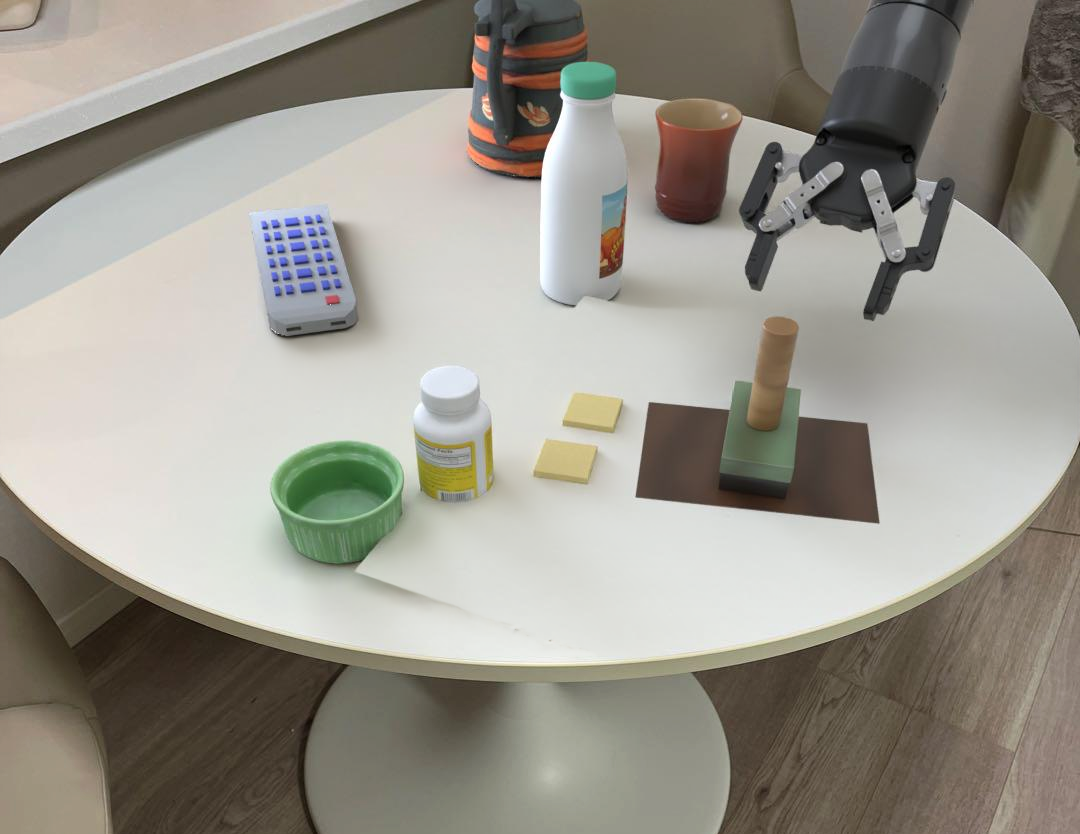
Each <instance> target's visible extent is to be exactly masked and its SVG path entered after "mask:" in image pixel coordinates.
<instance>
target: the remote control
mask: <svg viewBox="0 0 1080 834" xmlns="http://www.w3.org/2000/svg"><path fill="white" fill-rule="evenodd" d="M248 214H249V219H250V224H251V230H252V231H251V232H252V237H253V242H254V248H255V254H256V259H257V265H258V270H259V276H260V282H261V288H262V293H263V297H264V302H265V307H266V312H267V313H266V314H267V320H268V324H269V328H270V327H271V328H272V329H273V330H274V331H276V333H279V334H281V335H280V336H284V335H285V337H290V336H295V335H304V334H311V333H319V332H327V331H334V330H342V329H347V328H349V327H352V326H354V325H356V323H357V321H358V320H359V310H358V304H357V299H356V295H355V292H354V289H353V285H352V283H351V280H350V276H349V273H348V270H347V266H346V263H345V259H344V256H343V253H342V249H341V247H340V244H339V240H338V237H337V234H336V230H335V227H334V223H333V220H332V217H331V213H330V209H329V207H328V204H327V203H325V204H317V205H308V206H299V207H298V206H297V207H291V208H289V207H288V208H281V209H280V208H279V209H271V210H261V211H254V212H252V211H251V212H249V213H248ZM330 304H331V305H330ZM276 333H275V334H276ZM282 334H283V335H282Z"/></svg>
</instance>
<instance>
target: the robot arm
mask: <svg viewBox="0 0 1080 834" xmlns="http://www.w3.org/2000/svg"><path fill="white" fill-rule="evenodd" d="M975 2H976V0H869V3H868V5H867V8H866V11H865V13H864V17H863V19H862V21H861V24H860V25H859V27H858V29H857V31H856V33H855V35H854V36H853V39H852V41H851V42H850V45H849V48H848V49H847V52H846V55H845V56H844V57H845V58H844V60H843V63H842V65H841V68H840V71H839V73H838V77H837V79H836V81H835V85H834V87H833V90H832V93H831V95H830V99H829V101H828V102H827V103H828V104H827V106H826V109H825V112H824V114H823V116H822V119H821V122H820V125H819V128H818V131H817V133H816V136H815V139H814V142H813V144H812V145H811V147H810V148H809V149H808V150H807V151H806V152H805V153H804V154H798V153H795V152H792V151H787V150H784V149H783V146H782V144H781V143H780V142H778V141H771V142H769V143H768V144H767V145H766V146H765V149H764V150H763V153H762V155H761V157H760V160H759V162H758V165H757V167H756V170H754V171H755V172H754V174H753V176H752V178H751V181H750V183H749V185H748V187H747V190H746V192H745V194H744V196H743V199H742V201H741V204H740V206H739V207H738V214H739V216H740V219H741V221H742V224H743V226H744V228H745V230H748V231H751V232H753V233H754V234H756V235H755V238H754V240H753V244H752V246H751V249H750V252H749V255H748V258H747V260H746V263H745V266H744V274H745V277H746V279H747V281H748V285H749V288H750V289H751V290H752V291H756V292H762V291H763V289H764V286H765V283H766V281H767V278H768V275H769V273H770V270H771V267H772V265H773V262H774V259H775V256H776V254H777V251H778V248H779V246H778V242H779V241H780V240H781V239H782V238H784V237H785V236H787V235H788V234H790V233H791V232H793V231H794V230H796V229H800V228H802V227H804V226H806V225H807V224H808V223H810V222H811V221H812V220H814V219H815V218H816V220H818V221H819V224H821V225H826V226H830V227H831V226H842V227H844V228H847V229H848V230H850V231H853V232H857V233H861V234H862V233H863V231H867V230H871V229H873V231H874V234H875V236H876V239H877V242H878V246H879V247H880V249H881V251H882V254H883V257H884V259H885V260H884V261H880V264H879V267H878V269H877V271H876V274H875V277H874V280H873V283H872V286H871V287H870V288H871V289H870V291H869V294H868V296H867V299H866V301H865V304H864V307H863V313H862V314H863V320H867V321H870V322H875V320H876V318H877V315H881V316H885V314H886V313H887V312H888V311H889V310H890V307H891V304H892V301H893V300H894V299H893V298H894V296H895V293H896V291H897V289H898V285H899V283H900V281H901V277H902V276H903V275H904V274H905V273H907V272H910V271H911V272H912V271H920V272H923V273H927V272H930V271H931V270H933V269H934V266H935V263H936V260H937V257H938V253H939V250H940V247H941V243H942V240H943V238H944V234H945V231H946V227H947V224H948V220H949V217H950V214H951V210H952V207H953V204H954V201H955V189H956V182H955V180H954V179H952V178H951V177H946V176H945V177H941V178H940V179H939V180H938V181H932V180H925V179H918V177H917V169H918V167H919V163H920V161H921V158H922V155H923V152H924V150H925V147H926V145H927V142H928V139H929V136H930V134H931V132H932V129H933V126H934V124H935V121H936V118H937V114H938V112H939V110H940V107H941V106H942V104H943V102H944V101H945V99H946V95H947V93H948V90H947V89H948V86H949V83H950V80H951V77H952V74H953V70H954V67H955V66H954V65H955V61H956V56H957V52H958V48H959V45H960V42H961V41H962V37H963V35H964V31H965V28H966V26H967V24H968V21H969V18H970V17H971V13H972V10H973V7H974V5H975ZM795 173H799V177H800V180H801V183H802V185H801V186H800V187H798V188H797V189H796V190H794V191H793V192H791V193H790V194H788V195H787V196H786V197H784V199H783V201H782V202H781V203H780V204H779V205H778V206H777V207H775V208H774V209H773V210H771V211H769V212H768V213H767V214H766V210H767V208H768V206H769V204H770V201H771V199H772V196H773V194H774V192H775V190H776V188H777V186H778V183H779V184H782V183H784V182H786V181H787V180H788V179H789V178H790V176H791V175H792V174H795ZM913 198H915V199H916V198H917V200H919V203H920V204H919V205H920V207H919V209H920V212H921V213H922V215H925V216H926V219H925V222H924V224H923V228H922V232H921V234H920V238H919V242H918V245H915V246H907V247H905V245H904V243H903V240H902V237H901V234H900V232H899V228H898V224H897V221H896V218H895V215H894V214H895V213H896V212H897V211H898V210H900V209H901V208H902V207H904V206H905V205H907V204H908V203H909V202H910V201H912V199H913Z"/></svg>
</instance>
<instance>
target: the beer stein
mask: <svg viewBox="0 0 1080 834" xmlns="http://www.w3.org/2000/svg"><path fill="white" fill-rule="evenodd" d="M473 11H474V14H475V15H476V16H477V17H478V21H476V22H475V23H474V45H473V55H472V64H471V69H472V72H473V84H472V85H473V86H472V100H471V109H470V111H469V113H468V119H467V126H468V128H467V134H468V139H467V144H468V145H467V151H466V152H467V154H468V156H469V158H470V159H471V158H472V160H473V161H475V162H476V163H477V164H479V165H480V166H481V167H483V168H482V169H484V168H485V169H484V170H486V169H488V170H487V171H489V170H490V171H489V172H491V171H493V172H492V173H495V172H498V173H497V174H500V173H502V174H501V175H504V174H506V175H505V176H509V175H511V176H510V177H512V176H513V175H515V176H513V177H517V176H516V175H519V176H518V177H521V176H522V177H524V176H525V177H524V178H529V177H535V178H536V177H537V178H542V167H543V161H544V156H545V152H546V149H547V146H548V144H549V142H550V139H551V137H552V135H553V133H554V131H555V129H556V127H557V124H558V121H559V118H560V115H561V112H562V107H563V99H562V98H561V96H560V94H561V72H562V69H563V68H564V67H566V66H567V65H569V64H573V63H577V62H590V58H589V52H588V29H587V26H586V25H585V24H584V17H583V11H582V7H581V5H580V3H578V2H577V1H576V0H478V1H477V2H476V3H475V4H474V7H473ZM472 160H471V161H472ZM473 161H472V162H473ZM477 164H476V165H477ZM480 166H479V167H480ZM481 167H480V168H481Z"/></svg>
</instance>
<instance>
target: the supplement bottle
mask: <svg viewBox="0 0 1080 834" xmlns="http://www.w3.org/2000/svg"><path fill="white" fill-rule="evenodd" d="M419 387H420V399H421V401H420V403H419V404H418V405H417V406H416V407H415V409H414V412H413V418H412V420H413V423H412V424H413V434H414V444H415V452H416V453H415V454H416V463H417V472H418V473H417V474H418V481H419V483H418V484H419V490H420V492H424V493H425V494H426V495H427V496H429V497H431V498H432V499H435V500H438V501H441V502H447V503H463V502H468V501H472V500H475V499H477V498H479V497H481V496H483V495H484V494H485V493H487V492H489V490H490V489H491V488H492V486H493V484H494V480H495V479H494V478H495V476H494V475H495V474H494V453H493V427H492V425H493V423H492V413H491V410H490V407H489V406H488V404H487V403H486V401H485V400H483V399H482V398H481V387H480V379H479V376H478V375H477V373H476V372H474V371H473V370H472V369H470V368H468V367H464V366H461V365H442V366H437V367H435V368H432V369H430V370H428V371H427V372H426V373H425V374H423V376H422V377H421V379H420V382H419Z"/></svg>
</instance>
